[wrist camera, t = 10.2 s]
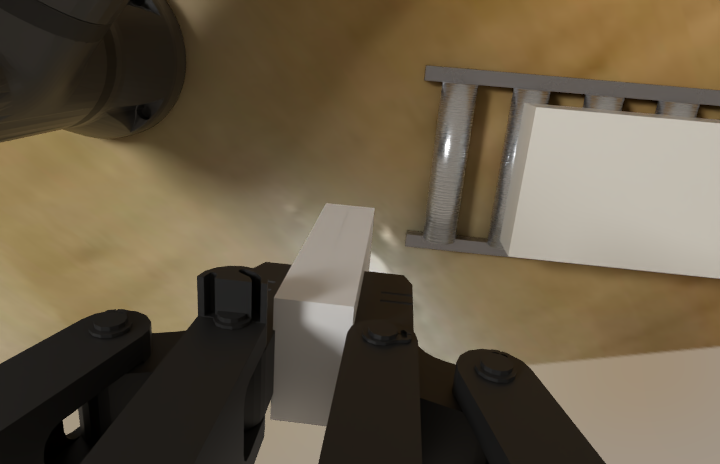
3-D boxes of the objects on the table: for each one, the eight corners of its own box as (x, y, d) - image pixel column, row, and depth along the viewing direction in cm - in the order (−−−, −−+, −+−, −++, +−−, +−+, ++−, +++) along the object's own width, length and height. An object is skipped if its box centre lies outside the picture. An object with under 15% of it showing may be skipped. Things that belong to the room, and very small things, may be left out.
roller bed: (723, 274, 48) (743, 288, 46) (405, 241, 50) (405, 253, 47) (784, 95, 43) (810, 98, 40) (425, 65, 45) (427, 65, 42)
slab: (499, 240, 46) (508, 256, 42) (524, 102, 42) (536, 107, 38) (707, 261, 45) (734, 280, 41) (752, 122, 41) (787, 129, 37)
